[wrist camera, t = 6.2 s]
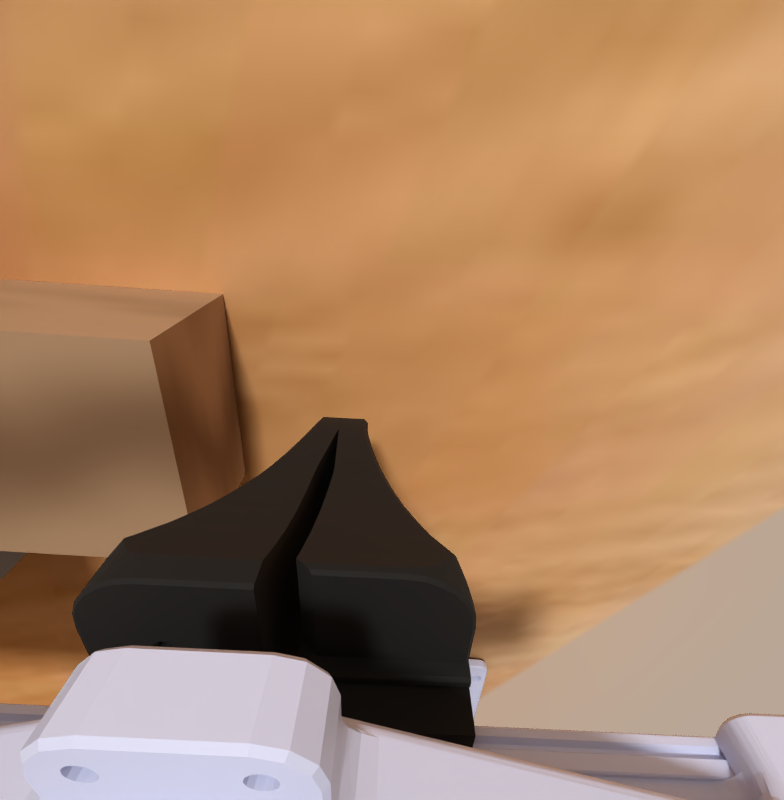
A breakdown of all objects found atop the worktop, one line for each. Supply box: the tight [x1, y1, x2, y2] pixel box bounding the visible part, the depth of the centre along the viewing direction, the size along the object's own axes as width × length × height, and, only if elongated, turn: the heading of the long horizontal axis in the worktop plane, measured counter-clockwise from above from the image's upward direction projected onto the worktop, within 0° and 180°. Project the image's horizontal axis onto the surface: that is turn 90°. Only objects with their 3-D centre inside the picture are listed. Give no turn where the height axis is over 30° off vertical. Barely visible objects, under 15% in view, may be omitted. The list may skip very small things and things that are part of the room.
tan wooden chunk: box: [0, 279, 245, 557], centre depth 13 cm, size 7×10×4 cm
